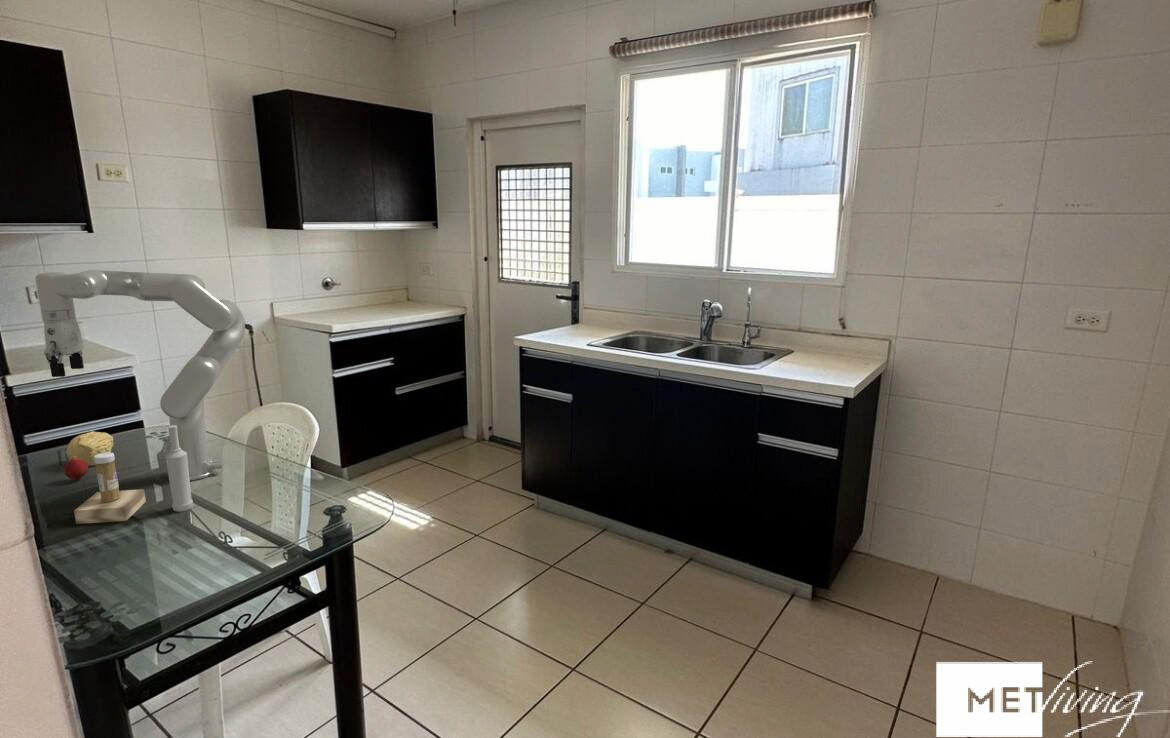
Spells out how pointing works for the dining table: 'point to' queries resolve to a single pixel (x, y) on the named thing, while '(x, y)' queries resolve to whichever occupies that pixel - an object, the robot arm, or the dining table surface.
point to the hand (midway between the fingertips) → (68, 372)
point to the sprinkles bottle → (107, 476)
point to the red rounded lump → (75, 468)
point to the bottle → (178, 474)
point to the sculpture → (89, 446)
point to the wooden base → (110, 507)
